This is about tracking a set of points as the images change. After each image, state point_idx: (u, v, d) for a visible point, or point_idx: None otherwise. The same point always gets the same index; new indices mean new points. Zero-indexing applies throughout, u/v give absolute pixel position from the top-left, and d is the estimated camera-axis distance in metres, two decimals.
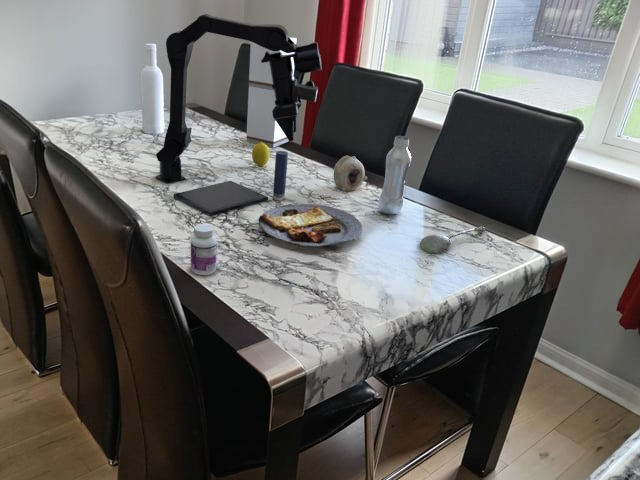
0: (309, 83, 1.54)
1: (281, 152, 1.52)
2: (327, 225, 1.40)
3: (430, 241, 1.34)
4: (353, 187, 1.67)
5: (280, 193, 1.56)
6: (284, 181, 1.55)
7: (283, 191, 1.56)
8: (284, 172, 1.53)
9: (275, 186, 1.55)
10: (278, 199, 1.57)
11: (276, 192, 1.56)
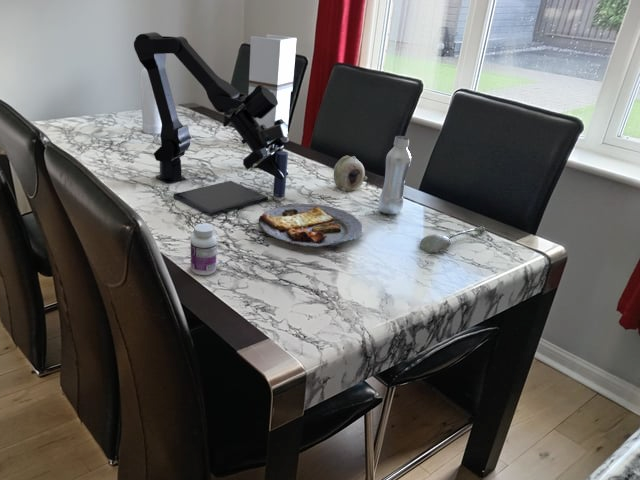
0: (278, 122, 1.52)
1: (281, 152, 1.52)
2: (327, 225, 1.40)
3: (430, 241, 1.34)
4: (353, 187, 1.67)
5: (280, 193, 1.56)
6: (284, 181, 1.55)
7: (283, 191, 1.56)
8: (284, 172, 1.53)
9: (275, 186, 1.55)
10: (278, 199, 1.57)
11: (276, 192, 1.56)
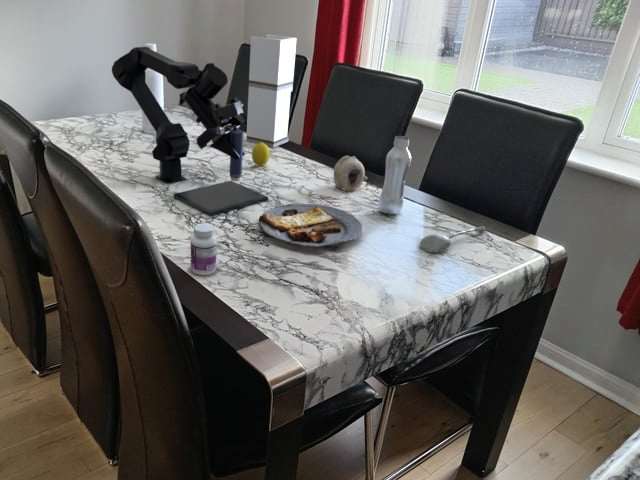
0: (234, 101, 1.50)
1: (236, 131, 1.49)
2: (327, 225, 1.40)
3: (430, 241, 1.34)
4: (353, 187, 1.67)
5: (236, 173, 1.53)
6: (240, 161, 1.52)
7: (239, 171, 1.53)
8: (240, 152, 1.51)
9: (231, 166, 1.53)
10: (235, 180, 1.55)
11: (232, 172, 1.53)
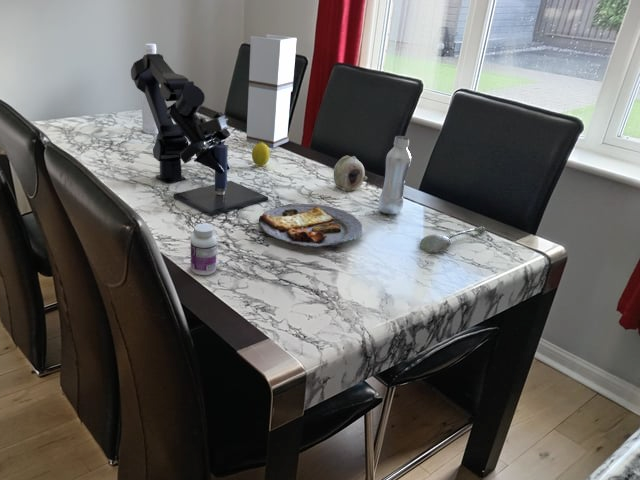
0: (218, 115, 1.50)
1: (221, 146, 1.50)
2: (327, 225, 1.40)
3: (430, 241, 1.34)
4: (353, 187, 1.67)
5: (221, 187, 1.54)
6: (225, 175, 1.53)
7: (224, 185, 1.54)
8: (224, 166, 1.51)
9: (216, 180, 1.53)
10: (219, 193, 1.55)
11: (217, 186, 1.54)
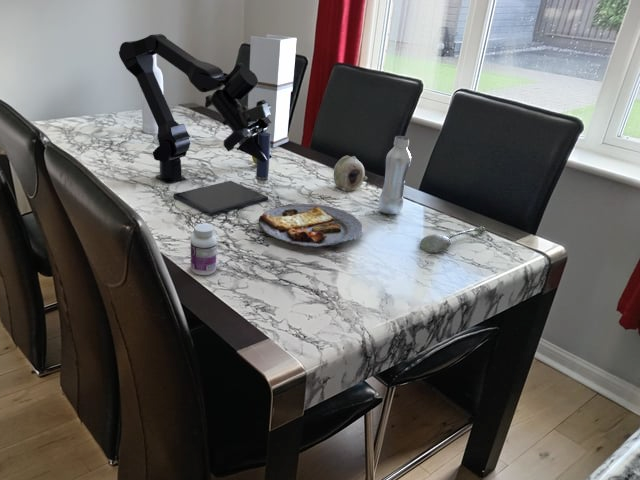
0: (261, 103, 1.48)
1: (263, 133, 1.48)
2: (327, 225, 1.40)
3: (430, 241, 1.34)
4: (353, 187, 1.67)
5: (263, 176, 1.51)
6: (267, 164, 1.50)
7: (266, 174, 1.52)
8: (267, 154, 1.49)
9: (258, 169, 1.51)
10: (261, 182, 1.53)
11: (259, 175, 1.52)
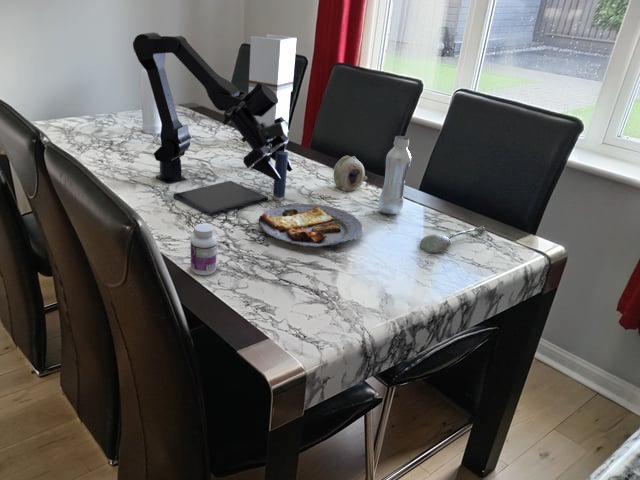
0: (279, 120, 1.52)
1: (281, 152, 1.52)
2: (327, 225, 1.40)
3: (430, 241, 1.34)
4: (353, 187, 1.67)
5: (280, 193, 1.56)
6: (284, 181, 1.55)
7: (283, 191, 1.56)
8: (284, 172, 1.53)
9: (275, 186, 1.55)
10: (278, 199, 1.57)
11: (276, 192, 1.56)
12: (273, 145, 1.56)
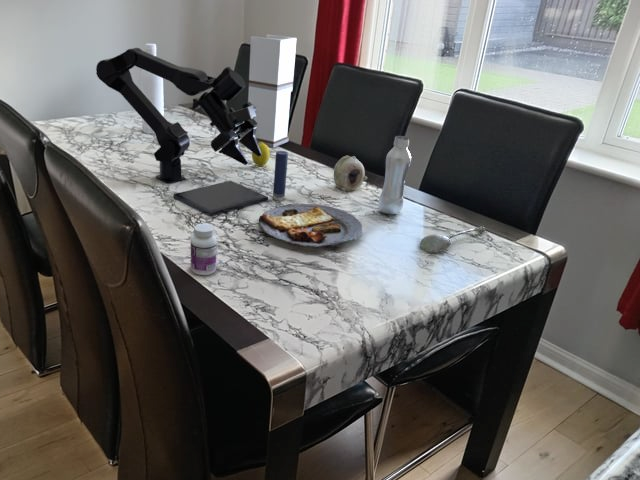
0: (247, 105, 1.54)
1: (281, 152, 1.52)
2: (327, 225, 1.40)
3: (430, 241, 1.34)
4: (353, 187, 1.67)
5: (280, 193, 1.56)
6: (284, 181, 1.55)
7: (283, 191, 1.56)
8: (284, 172, 1.53)
9: (275, 186, 1.55)
10: (278, 199, 1.57)
11: (276, 192, 1.56)
12: (242, 130, 1.58)
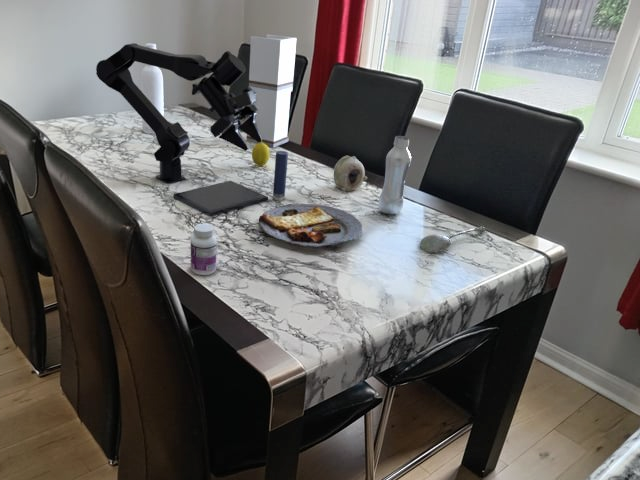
0: None
1: (281, 152, 1.52)
2: (327, 225, 1.40)
3: (430, 241, 1.34)
4: (353, 187, 1.67)
5: (280, 193, 1.56)
6: (284, 181, 1.55)
7: (283, 191, 1.56)
8: (284, 172, 1.53)
9: (275, 186, 1.55)
10: (278, 199, 1.57)
11: (276, 192, 1.56)
12: (242, 116, 1.56)
